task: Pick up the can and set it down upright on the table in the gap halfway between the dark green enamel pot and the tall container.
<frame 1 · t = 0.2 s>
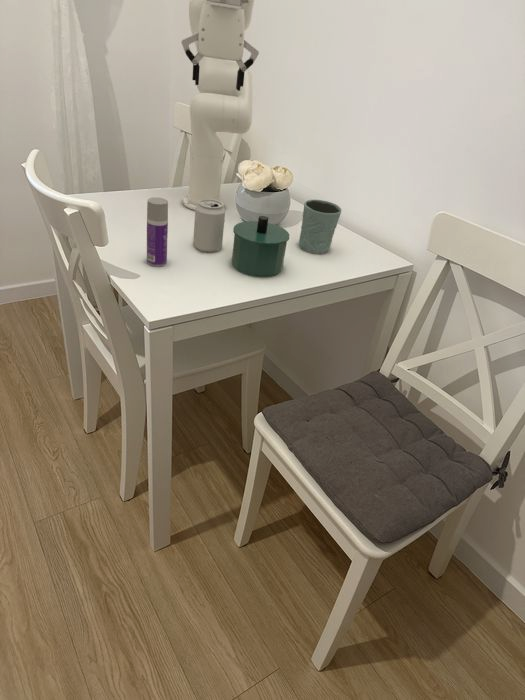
hand: (217, 87, 118), 37 cm above the table, tool pointing down, fingers open, 9 cm apart
pot: (256, 265, 127), on the table
green textured cup: (314, 248, 142), on the table
pot lid: (261, 233, 122), point 8 cm above the table, touching pot
can: (207, 248, 132), on the table
container: (156, 263, 121), on the table
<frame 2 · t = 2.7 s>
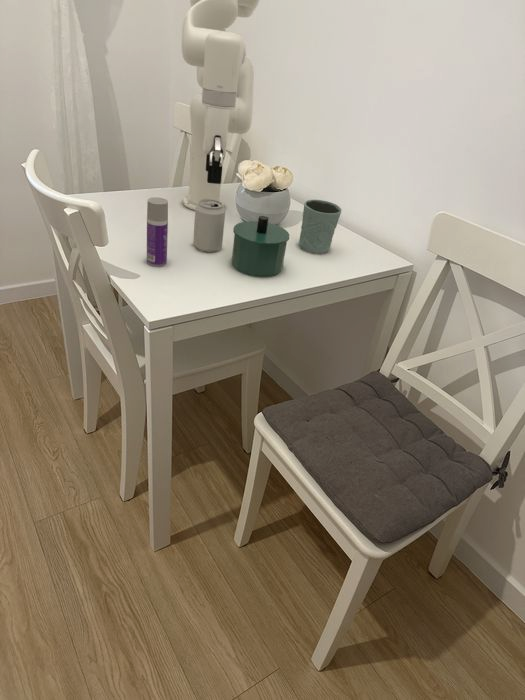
hand: (213, 177, 122), 18 cm above the table, tool pointing down, fingers open, 9 cm apart
nothing on the table moved.
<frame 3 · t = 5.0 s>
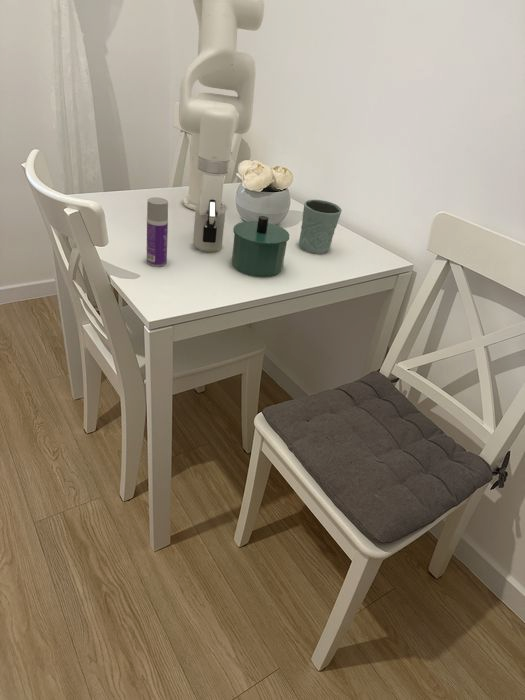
hand: (208, 235, 130), 3 cm above the table, tool pointing down, fingers closed on can, 7 cm apart
can: (207, 248, 132), on the table, touching gripper
everything else where it was.
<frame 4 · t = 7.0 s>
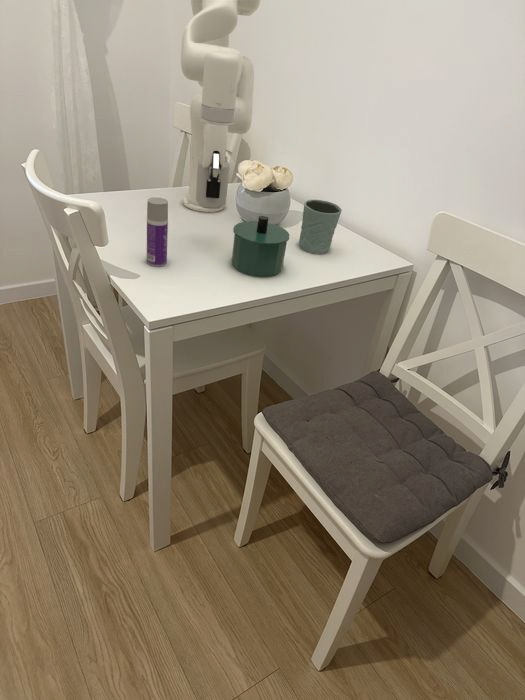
hand: (211, 191, 125), 15 cm above the table, tool pointing down, fingers closed on can, 7 cm apart
can: (210, 205, 127), point 11 cm above the table, touching gripper
everything else where it was.
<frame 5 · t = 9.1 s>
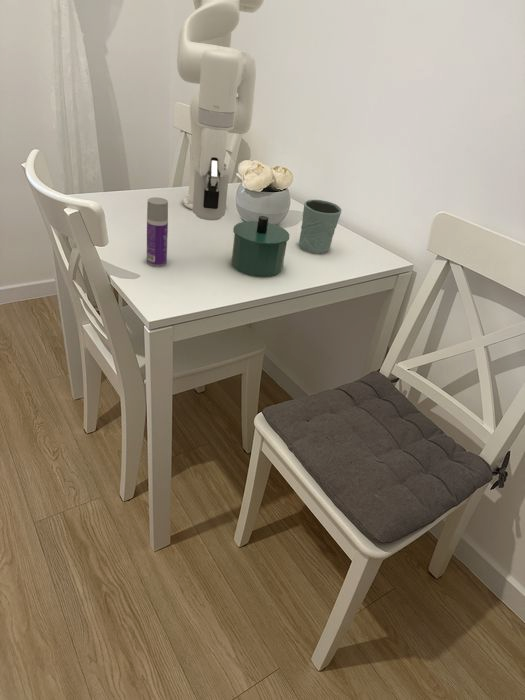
hand: (209, 201, 116), 16 cm above the table, tool pointing down, fingers closed on can, 7 cm apart
can: (208, 216, 118), point 12 cm above the table, touching gripper
everything else where it was.
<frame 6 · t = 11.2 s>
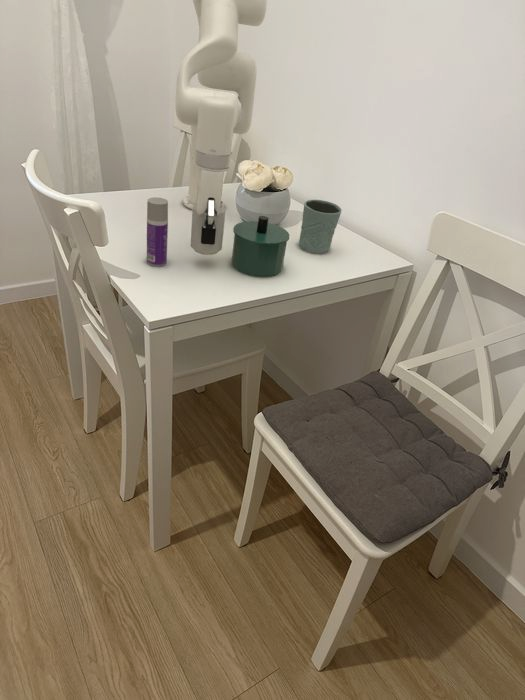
hand: (207, 236, 120), 7 cm above the table, tool pointing down, fingers closed on can, 7 cm apart
can: (205, 250, 122), point 4 cm above the table, touching gripper
everything else where it was.
when the fingers open (3 cm above the table, at t = 13.0 s): can stays where it is, on the table.
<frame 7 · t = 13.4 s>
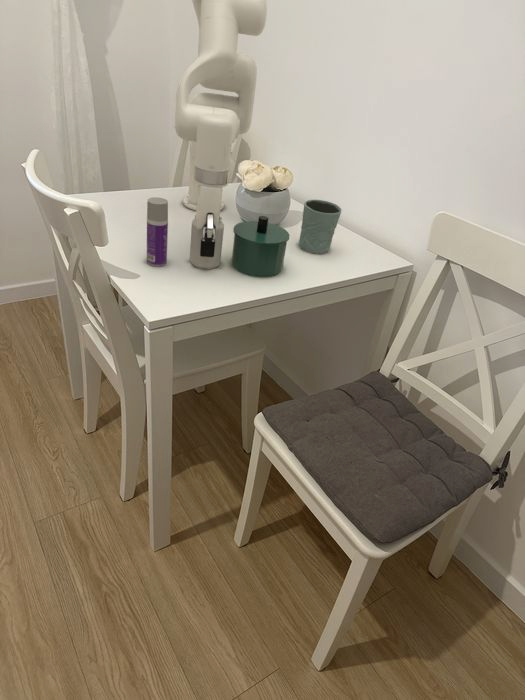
hand: (206, 247, 122), 4 cm above the table, tool pointing down, fingers open, 9 cm apart
can: (204, 264, 124), on the table
everything else where it was.
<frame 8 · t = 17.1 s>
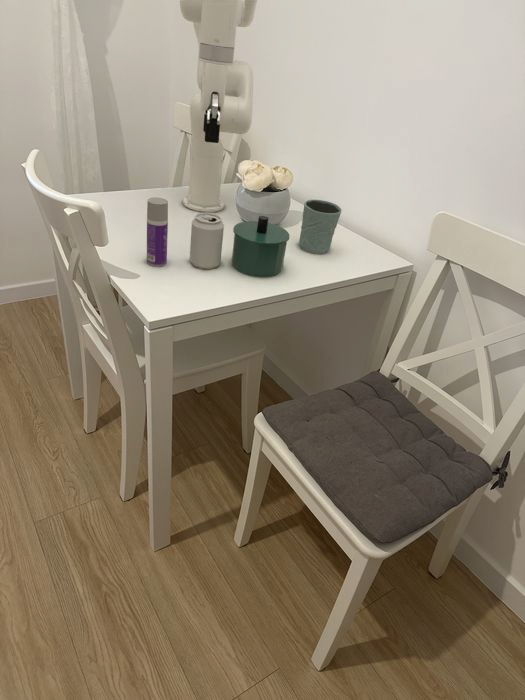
hand: (210, 137, 121), 26 cm above the table, tool pointing down, fingers open, 9 cm apart
nothing on the table moved.
at the end: can inside the target area (0.1 cm from its centre), on the table; can tilted 0°; the gripper is holding nothing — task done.
